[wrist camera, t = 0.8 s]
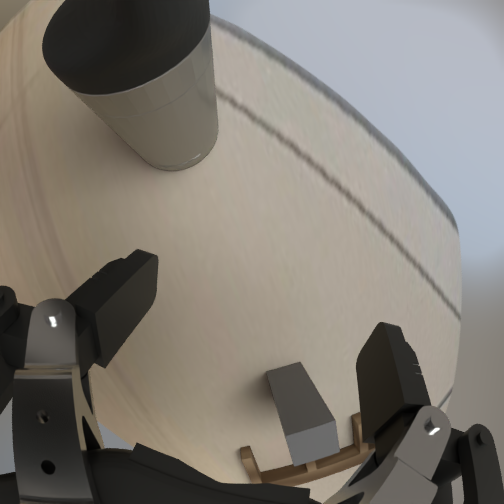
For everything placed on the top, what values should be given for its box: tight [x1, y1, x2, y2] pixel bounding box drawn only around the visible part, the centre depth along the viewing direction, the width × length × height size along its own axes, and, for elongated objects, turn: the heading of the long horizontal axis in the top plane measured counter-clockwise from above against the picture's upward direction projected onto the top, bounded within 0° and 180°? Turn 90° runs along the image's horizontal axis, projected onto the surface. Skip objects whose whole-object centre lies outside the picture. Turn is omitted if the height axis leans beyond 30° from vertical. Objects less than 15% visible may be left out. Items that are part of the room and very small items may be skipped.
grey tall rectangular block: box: [266, 362, 340, 466], centre depth 24 cm, size 4×4×12 cm
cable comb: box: [241, 412, 375, 487], centre depth 30 cm, size 8×24×2 cm, turn 104°
